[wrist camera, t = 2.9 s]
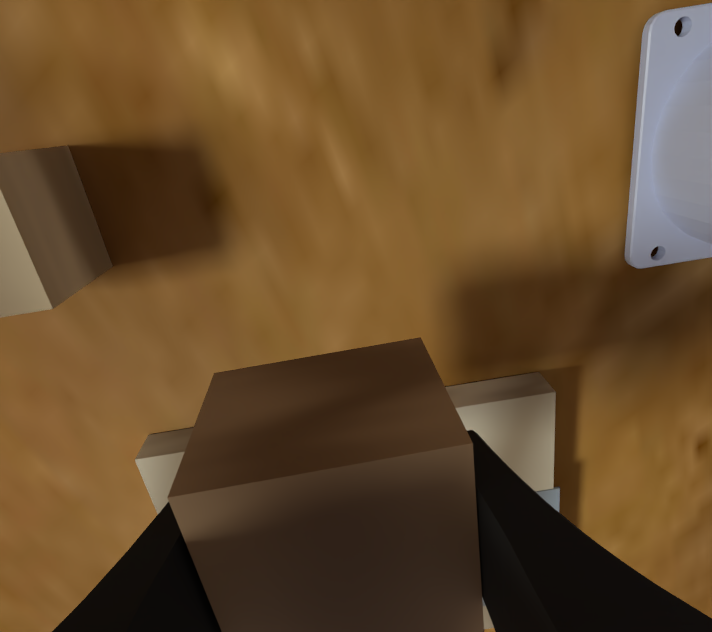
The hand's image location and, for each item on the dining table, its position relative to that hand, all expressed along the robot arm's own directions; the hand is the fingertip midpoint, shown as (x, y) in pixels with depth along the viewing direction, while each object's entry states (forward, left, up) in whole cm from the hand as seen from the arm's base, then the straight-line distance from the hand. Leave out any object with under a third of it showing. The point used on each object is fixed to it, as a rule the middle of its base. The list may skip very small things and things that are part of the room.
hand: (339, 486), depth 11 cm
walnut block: (0, 0, -2) cm, 2 cm away
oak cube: (+9, -6, -8) cm, 14 cm away
